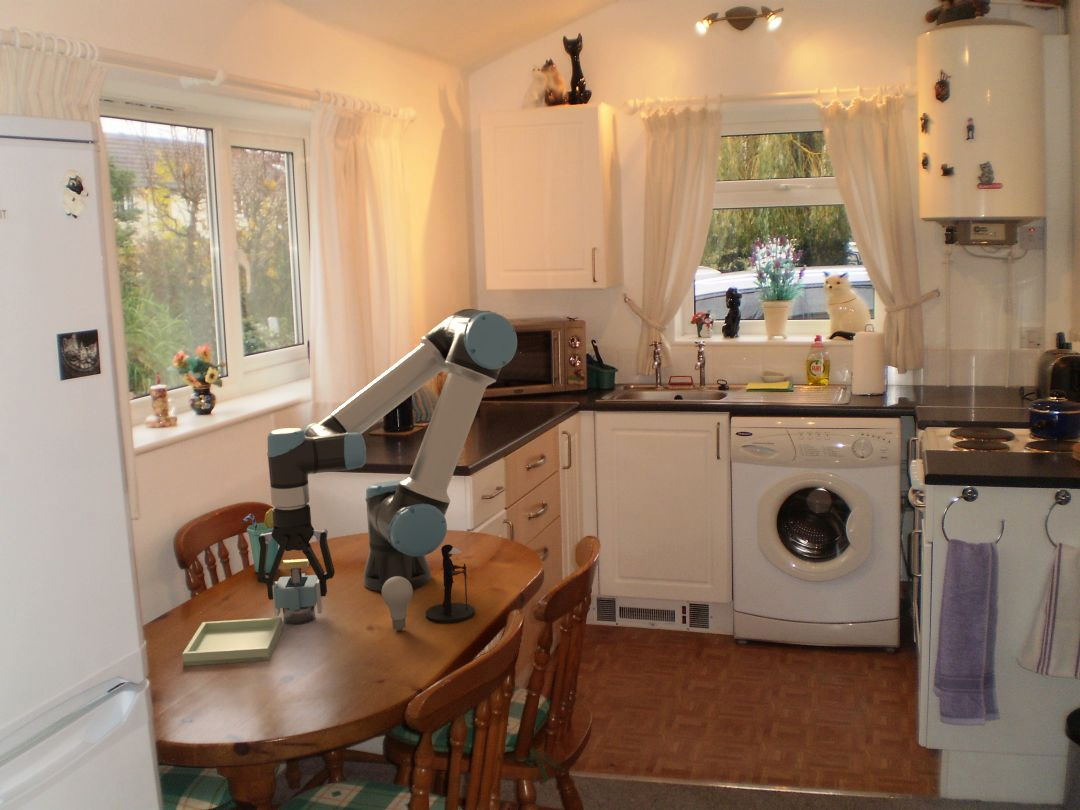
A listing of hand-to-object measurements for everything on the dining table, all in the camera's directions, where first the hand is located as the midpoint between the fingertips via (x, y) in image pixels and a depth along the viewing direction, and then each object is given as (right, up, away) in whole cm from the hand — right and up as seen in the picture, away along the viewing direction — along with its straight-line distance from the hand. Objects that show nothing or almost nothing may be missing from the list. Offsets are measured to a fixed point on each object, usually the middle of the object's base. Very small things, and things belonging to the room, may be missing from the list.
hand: (299, 612), depth 226 cm
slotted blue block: (0, +2, 0) cm, 3 cm away
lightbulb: (+22, -2, -8) cm, 23 cm away
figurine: (+31, -1, -1) cm, 31 cm away
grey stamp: (0, -1, 0) cm, 1 cm away
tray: (-9, -4, -14) cm, 17 cm away
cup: (-16, +3, +34) cm, 37 cm away
